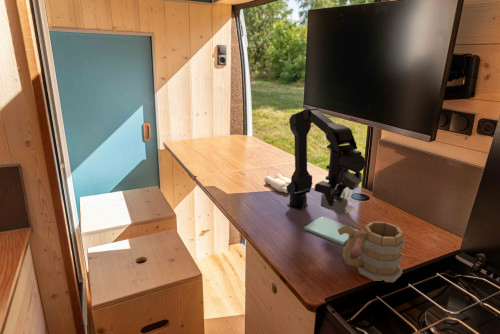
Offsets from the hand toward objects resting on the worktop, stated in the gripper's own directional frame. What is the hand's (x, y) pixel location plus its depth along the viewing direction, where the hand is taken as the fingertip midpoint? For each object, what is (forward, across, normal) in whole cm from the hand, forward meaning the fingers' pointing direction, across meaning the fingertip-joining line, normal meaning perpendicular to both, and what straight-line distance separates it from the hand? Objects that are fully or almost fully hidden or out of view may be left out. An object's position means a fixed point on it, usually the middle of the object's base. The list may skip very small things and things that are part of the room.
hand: (333, 204), depth 126 cm
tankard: (+11, -13, -20) cm, 26 cm away
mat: (+11, 0, 0) cm, 11 cm away
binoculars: (+12, +20, +40) cm, 46 cm away
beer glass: (+11, +18, +6) cm, 22 cm away
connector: (+1, 0, -1) cm, 2 cm away
